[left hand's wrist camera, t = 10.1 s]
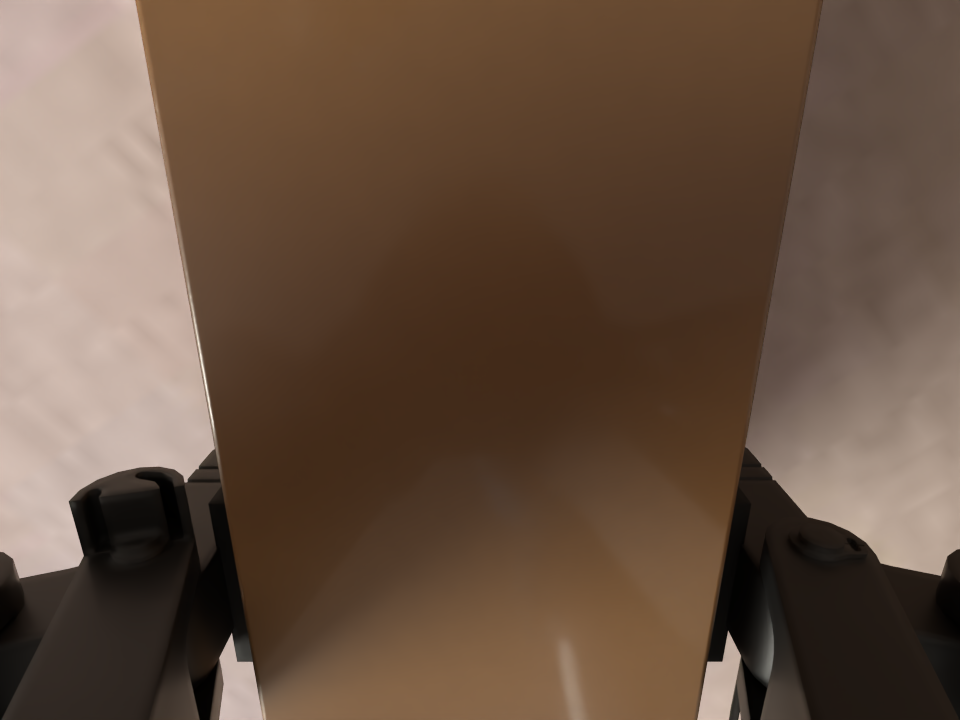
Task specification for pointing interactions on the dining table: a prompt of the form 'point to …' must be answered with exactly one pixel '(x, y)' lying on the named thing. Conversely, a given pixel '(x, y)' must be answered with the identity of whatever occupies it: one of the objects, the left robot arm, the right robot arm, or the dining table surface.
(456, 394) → the bar
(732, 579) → the left robot arm
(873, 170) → the dining table surface
